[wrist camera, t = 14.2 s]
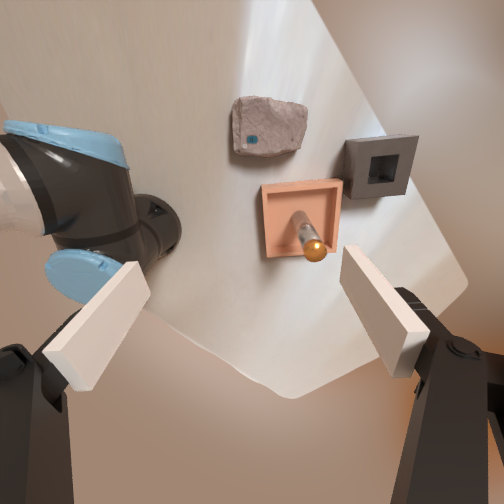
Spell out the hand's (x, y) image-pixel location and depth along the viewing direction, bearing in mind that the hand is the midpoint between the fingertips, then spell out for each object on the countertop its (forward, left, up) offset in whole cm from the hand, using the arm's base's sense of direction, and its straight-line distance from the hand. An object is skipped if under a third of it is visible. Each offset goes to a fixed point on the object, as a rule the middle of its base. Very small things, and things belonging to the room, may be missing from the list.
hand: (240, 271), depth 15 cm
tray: (+10, -11, -37) cm, 40 cm away
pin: (+10, -11, -36) cm, 39 cm away
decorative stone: (+4, +7, -37) cm, 38 cm away
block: (+24, -1, -37) cm, 44 cm away
